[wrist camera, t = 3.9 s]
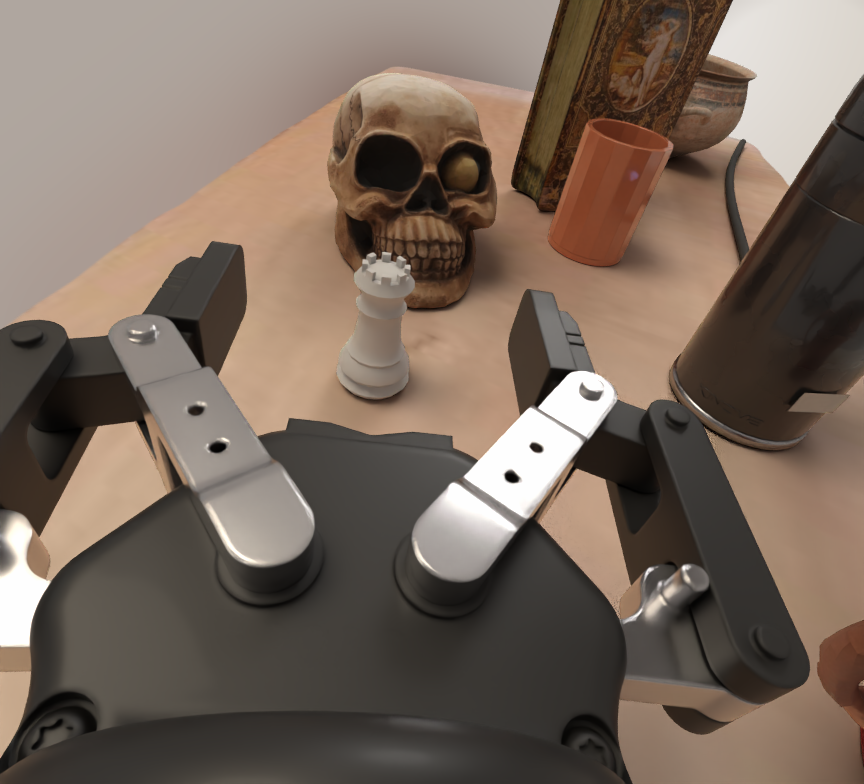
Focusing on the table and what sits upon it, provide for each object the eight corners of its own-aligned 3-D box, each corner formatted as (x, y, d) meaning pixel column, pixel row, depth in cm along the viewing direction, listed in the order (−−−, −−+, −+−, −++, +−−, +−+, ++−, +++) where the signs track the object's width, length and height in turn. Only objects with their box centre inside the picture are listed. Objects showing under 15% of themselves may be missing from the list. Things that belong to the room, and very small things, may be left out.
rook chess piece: (322, 366, 32) (326, 250, 27) (382, 347, 35) (397, 237, 29) (360, 413, 30) (373, 296, 25) (422, 389, 32) (446, 277, 27)
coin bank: (423, 320, 37) (447, 112, 29) (268, 242, 45) (252, 59, 37) (532, 262, 47) (572, 96, 39) (391, 206, 55) (400, 58, 47)
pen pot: (573, 222, 55) (613, 114, 48) (634, 254, 52) (687, 144, 45) (532, 238, 50) (570, 122, 43) (596, 274, 47) (649, 156, 40)
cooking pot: (582, 113, 88) (611, 27, 80) (689, 137, 89) (729, 54, 81) (602, 165, 70) (642, 61, 62) (737, 195, 71) (795, 96, 62)
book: (616, 185, 65) (726, -81, 48) (645, 206, 62) (776, -72, 45) (507, 189, 58) (592, -120, 41) (534, 212, 55) (639, -114, 38)
